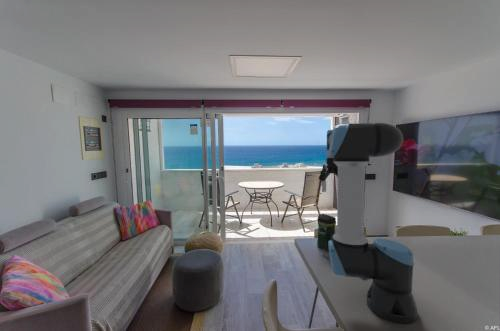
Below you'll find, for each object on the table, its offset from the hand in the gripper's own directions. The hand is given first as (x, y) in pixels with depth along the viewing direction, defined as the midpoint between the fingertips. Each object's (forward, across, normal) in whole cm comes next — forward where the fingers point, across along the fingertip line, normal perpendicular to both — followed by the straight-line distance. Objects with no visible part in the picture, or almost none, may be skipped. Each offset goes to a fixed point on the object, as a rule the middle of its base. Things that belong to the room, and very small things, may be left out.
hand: (332, 194), depth 131 cm
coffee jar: (+29, -3, +8) cm, 30 cm away
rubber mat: (+29, -19, +7) cm, 35 cm away
